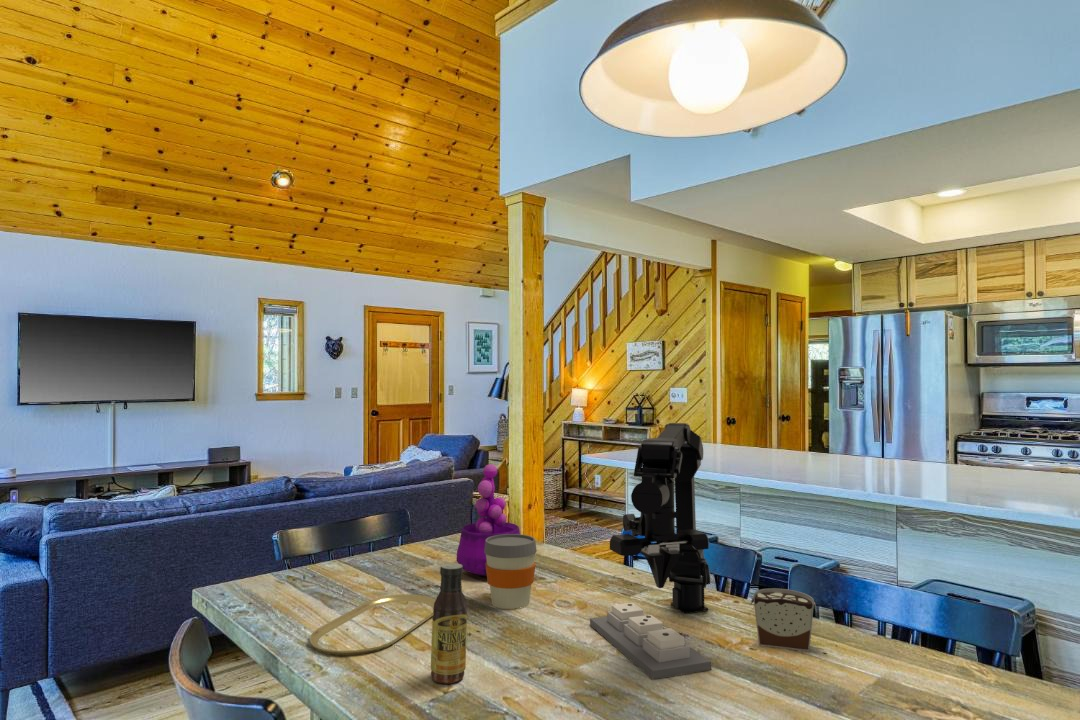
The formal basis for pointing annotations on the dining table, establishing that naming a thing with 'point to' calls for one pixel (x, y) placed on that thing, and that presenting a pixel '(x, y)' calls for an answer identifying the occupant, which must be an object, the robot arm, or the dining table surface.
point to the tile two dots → (626, 611)
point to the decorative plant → (483, 526)
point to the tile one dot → (665, 639)
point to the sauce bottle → (449, 627)
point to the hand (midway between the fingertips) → (659, 587)
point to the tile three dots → (645, 624)
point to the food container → (783, 618)
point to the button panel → (649, 650)
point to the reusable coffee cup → (510, 569)
